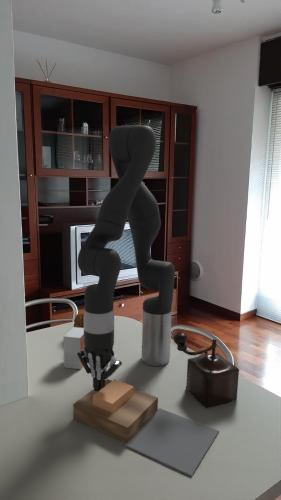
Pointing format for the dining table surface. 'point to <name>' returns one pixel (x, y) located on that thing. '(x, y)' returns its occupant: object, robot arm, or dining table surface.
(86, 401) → the brown box
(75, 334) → the small box
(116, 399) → the orange tan block
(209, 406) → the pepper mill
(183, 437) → the mat
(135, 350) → the dining table surface
